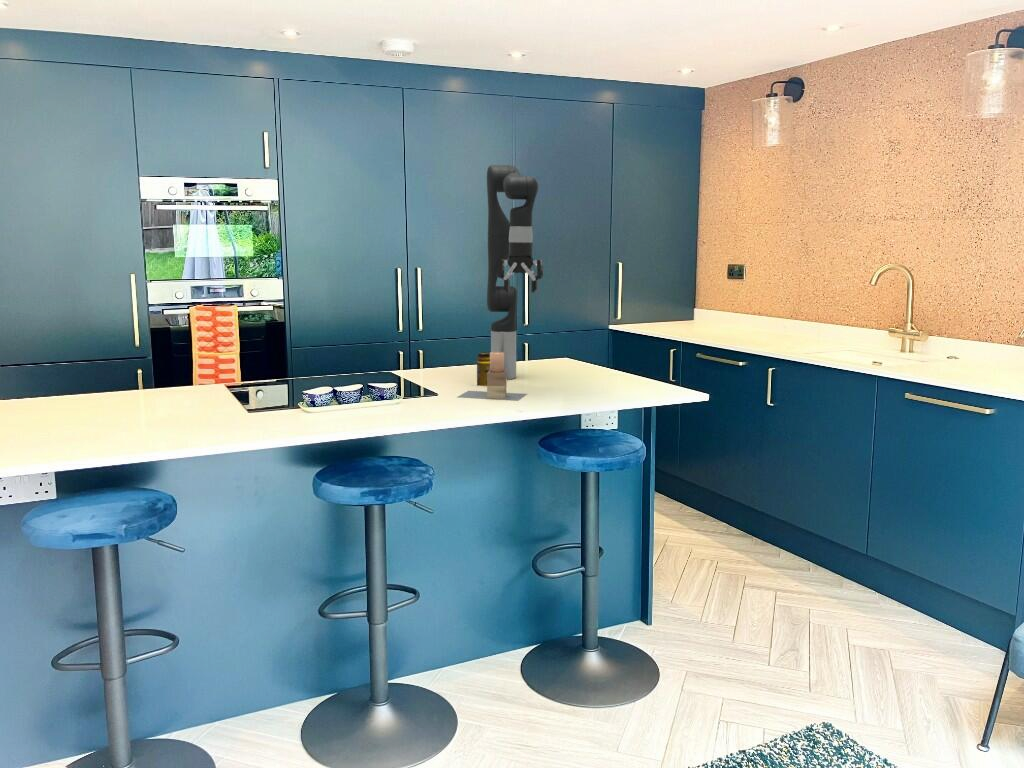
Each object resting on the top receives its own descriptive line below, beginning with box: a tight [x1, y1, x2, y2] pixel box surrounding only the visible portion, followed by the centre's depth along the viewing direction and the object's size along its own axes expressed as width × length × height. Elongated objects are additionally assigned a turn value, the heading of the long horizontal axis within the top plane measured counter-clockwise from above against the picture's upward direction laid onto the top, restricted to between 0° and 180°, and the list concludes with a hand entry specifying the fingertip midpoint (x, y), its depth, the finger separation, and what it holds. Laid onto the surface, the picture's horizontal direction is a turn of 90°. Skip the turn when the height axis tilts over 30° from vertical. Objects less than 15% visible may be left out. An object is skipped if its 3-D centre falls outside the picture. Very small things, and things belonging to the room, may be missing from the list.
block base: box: [486, 384, 507, 400], centre depth 262 cm, size 6×6×4 cm
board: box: [457, 390, 528, 402], centre depth 265 cm, size 12×20×1 cm, turn 75°
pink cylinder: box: [489, 351, 504, 373], centre depth 261 cm, size 4×4×6 cm
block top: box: [486, 370, 507, 387], centre depth 262 cm, size 6×6×4 cm
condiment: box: [471, 351, 490, 387], centre depth 285 cm, size 7×8×12 cm
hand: (520, 292), depth 270 cm, fingers open, 8 cm apart
